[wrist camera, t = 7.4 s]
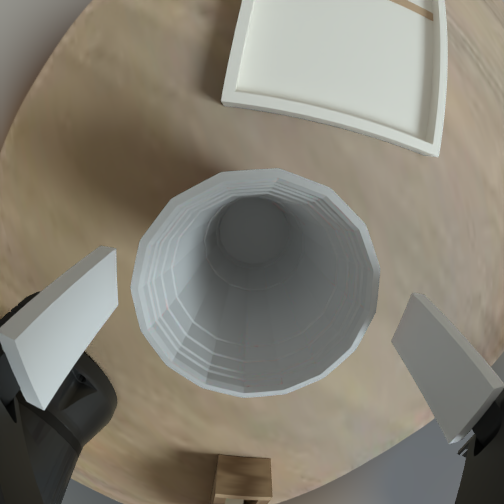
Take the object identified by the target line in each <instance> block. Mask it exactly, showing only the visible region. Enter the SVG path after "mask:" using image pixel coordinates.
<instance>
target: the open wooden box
mask: <svg viewBox="0 0 504 504" xmlns="http://www.w3.org/2000/svg"><path fill="white" fill-rule="evenodd" d="M226 498H230V499H243V504H268V502H269V501H270V500H271V498H272V479H271V459H269V458H251V457H238V456H228V455H220V454H219V456H218V462H217V467H216V472H215V478H214V483H213V488H212V493H211V499H210V504H225V501H226Z"/></svg>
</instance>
